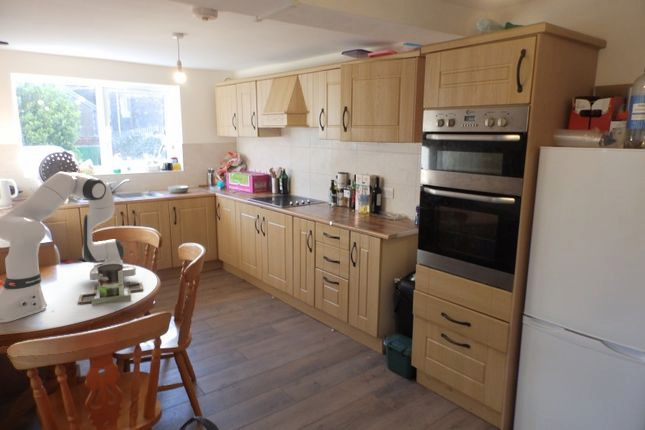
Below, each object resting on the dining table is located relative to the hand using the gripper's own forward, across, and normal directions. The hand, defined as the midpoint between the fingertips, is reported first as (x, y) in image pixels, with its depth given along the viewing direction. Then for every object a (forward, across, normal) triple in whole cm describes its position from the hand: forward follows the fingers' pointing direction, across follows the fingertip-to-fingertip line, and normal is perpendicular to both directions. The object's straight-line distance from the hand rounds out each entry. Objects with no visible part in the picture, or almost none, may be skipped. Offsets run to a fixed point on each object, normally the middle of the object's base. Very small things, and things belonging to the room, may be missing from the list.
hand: (113, 277), depth 203 cm
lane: (+8, +1, -6) cm, 10 cm away
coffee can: (+12, +1, -6) cm, 13 cm away
